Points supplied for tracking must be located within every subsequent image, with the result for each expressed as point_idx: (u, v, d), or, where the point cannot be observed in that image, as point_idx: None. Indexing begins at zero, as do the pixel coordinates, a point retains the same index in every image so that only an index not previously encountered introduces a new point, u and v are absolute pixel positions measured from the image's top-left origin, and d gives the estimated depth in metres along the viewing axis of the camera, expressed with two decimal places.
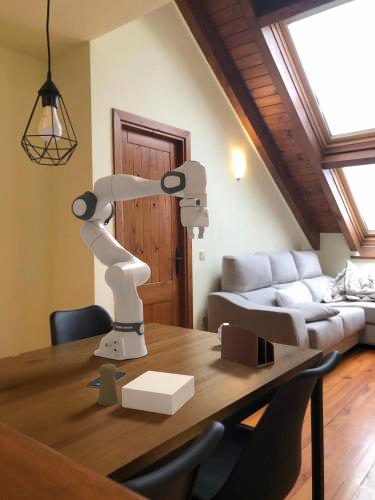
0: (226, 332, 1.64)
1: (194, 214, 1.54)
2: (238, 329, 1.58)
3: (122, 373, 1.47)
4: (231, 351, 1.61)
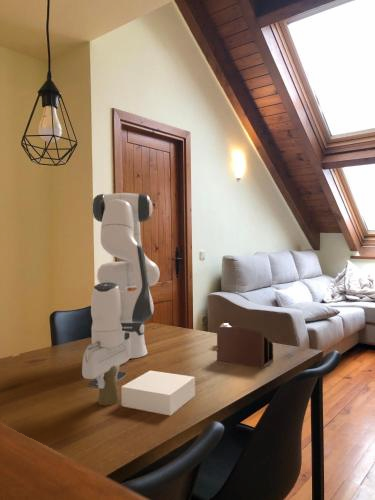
0: (224, 334, 1.60)
1: None
2: (239, 330, 1.57)
3: (122, 373, 1.47)
4: (230, 353, 1.59)
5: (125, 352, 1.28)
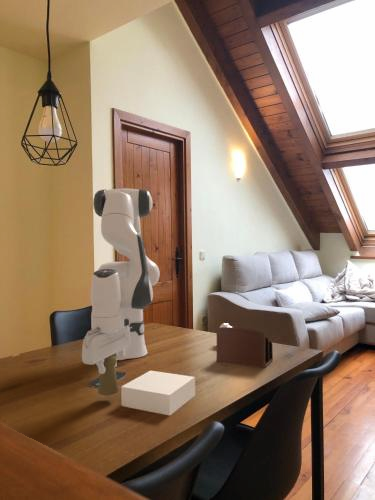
0: (224, 335, 1.60)
1: None
2: (240, 330, 1.57)
3: (122, 373, 1.47)
4: (230, 353, 1.58)
5: (124, 339, 1.28)
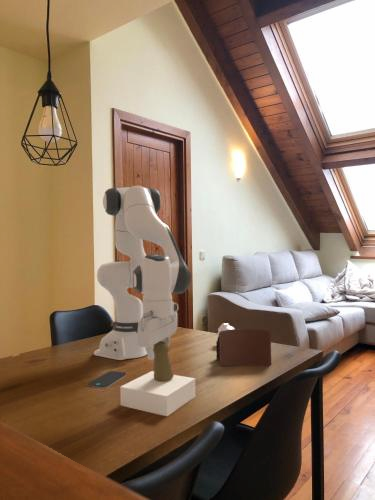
0: (228, 338, 1.55)
1: None
2: (245, 331, 1.55)
3: (122, 373, 1.47)
4: (235, 356, 1.55)
5: (173, 324, 1.28)
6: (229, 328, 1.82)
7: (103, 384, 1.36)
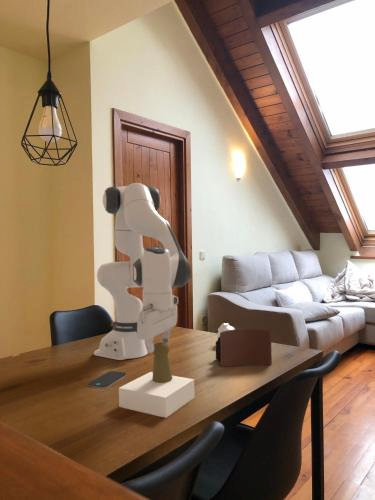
0: (229, 338, 1.54)
1: None
2: (245, 331, 1.55)
3: (122, 373, 1.47)
4: (236, 356, 1.54)
5: (173, 317, 1.28)
6: (229, 328, 1.82)
7: (103, 384, 1.36)
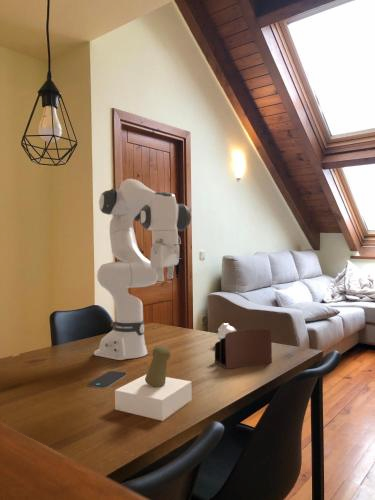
0: (233, 339, 1.52)
1: None
2: (249, 331, 1.55)
3: (122, 373, 1.47)
4: (240, 357, 1.53)
5: (176, 256, 1.47)
6: (229, 328, 1.82)
7: (103, 384, 1.36)
